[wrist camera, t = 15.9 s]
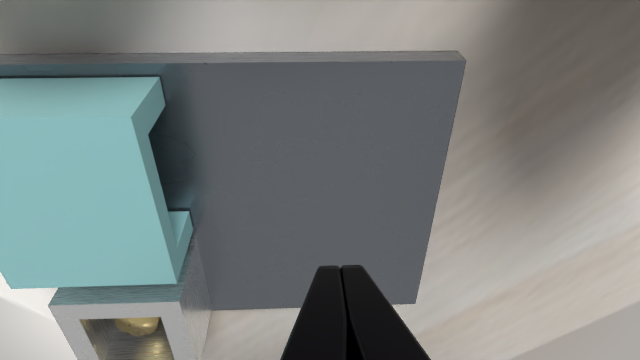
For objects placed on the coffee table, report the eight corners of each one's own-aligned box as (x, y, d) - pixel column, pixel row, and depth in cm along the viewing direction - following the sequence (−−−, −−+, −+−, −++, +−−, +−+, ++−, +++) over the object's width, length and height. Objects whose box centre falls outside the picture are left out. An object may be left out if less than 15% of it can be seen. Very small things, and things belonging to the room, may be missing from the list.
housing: (159, 76, 17) (130, 117, 14) (193, 229, 21) (176, 283, 18) (-25, 78, 16) (-93, 120, 13) (50, 233, 21) (11, 288, 18)
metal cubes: (457, 50, 18) (495, 90, 14) (410, 288, 26) (427, 348, 23) (-30, 54, 17) (-112, 97, 14) (85, 298, 26) (53, 362, 22)
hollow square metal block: (196, 238, 22) (179, 301, 18) (211, 308, 25) (199, 372, 22) (85, 241, 21) (47, 305, 18) (115, 311, 25) (87, 377, 21)
